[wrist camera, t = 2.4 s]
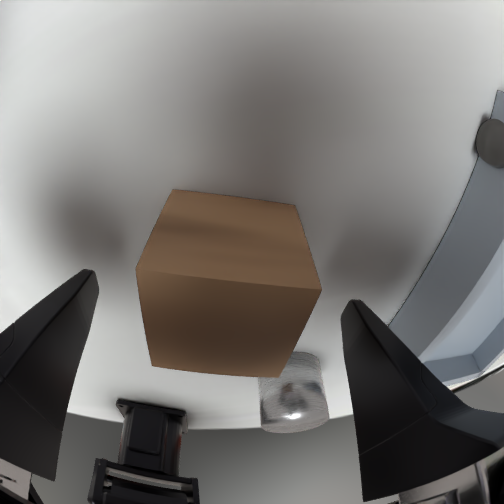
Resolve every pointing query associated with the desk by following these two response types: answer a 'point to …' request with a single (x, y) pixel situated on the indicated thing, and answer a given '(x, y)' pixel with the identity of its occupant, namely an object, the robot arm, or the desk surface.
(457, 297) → the tray
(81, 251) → the desk surface
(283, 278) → the walnut block
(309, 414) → the steel cylinder
